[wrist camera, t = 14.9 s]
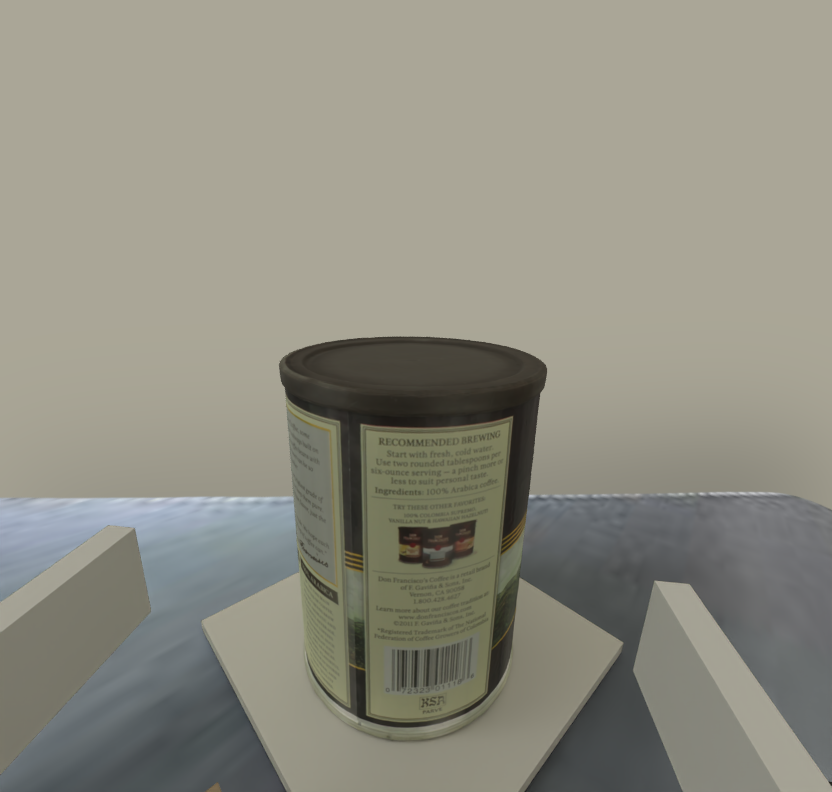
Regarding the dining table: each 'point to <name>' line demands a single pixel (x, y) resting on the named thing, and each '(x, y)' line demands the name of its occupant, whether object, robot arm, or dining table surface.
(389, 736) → the coffee can
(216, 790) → the birch frame
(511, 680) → the white square board
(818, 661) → the dining table surface
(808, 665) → the dining table surface
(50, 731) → the dining table surface
